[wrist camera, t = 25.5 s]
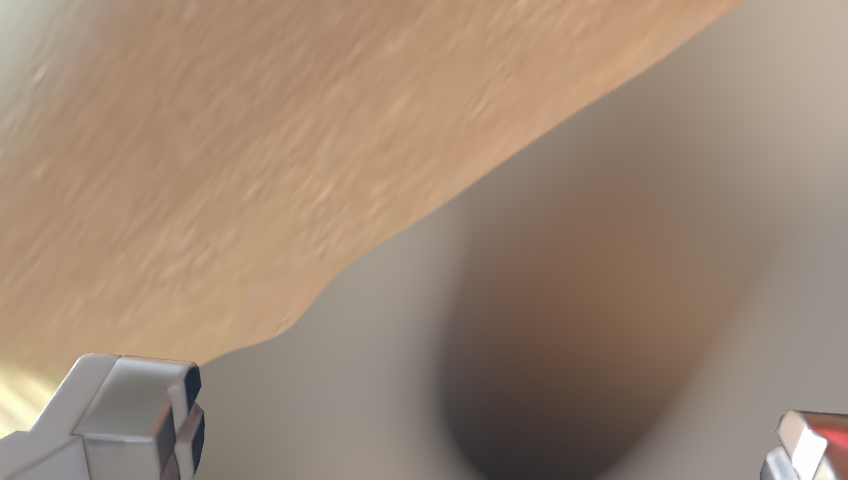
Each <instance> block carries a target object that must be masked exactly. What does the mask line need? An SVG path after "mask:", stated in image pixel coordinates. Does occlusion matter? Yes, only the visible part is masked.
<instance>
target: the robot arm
mask: <svg viewBox="0 0 848 480" xmlns="http://www.w3.org/2000/svg"><path fill="white" fill-rule="evenodd" d="M200 388H201V380H200V372H199V367H198V366H197V364H196V363H195V362H186V361H177V360H167V359H157V358H147V357H137V356H128V355H125V356H121V355H113V354H102V353H92V352H89V353H87V354H85V355H83V356H81V357H80V358H79V359H78V360H77V362H76V363H75V365H74V366H73V368H72V369H71V370H70V372H69V373H68V375H67V376H66V378H65V379H64V380H63V382H62V383H61V385H60V386H59V388H58V389H57V390H56V392H55V393H54V395H53V396H52V398H51V399H50V400H49V402H48V403H47V405H46V406H45V408H44V409H43V410H42V412H41V413H40V415H39V416H38V418H37V419H36V420H35V422H34V423H33V425H32V426H31V428H30V429H29V430H28V432H25V431H16V432H14V433H12V434H10V435H8V436H6V437H4V438H2V439H1V440H0V480H192V479H193V478H194V475H195V473H196V470H197V467H198V465H199V462H200V457H201V452H202V447H203V443H204V427H205V423H204V411H203V410H202V409H201V408H200V406H199V405H198V404H197V403H196V402H195V399H196V397H197V395H198V392H199V390H200ZM775 432H776V434H777V436H778V438H779V440H780V442H781V445H780V446H779V447H777V448H776V449H774V450H773V451H772V452H770V453H769V454H768V455H766V457H765V460H764V463H763V466H762V469H761V472H760V480H848V414H840V413H827V412H813V411H799V410H787V412H786V413H785V414H784V415H783V416H782V417H781V419H780V421H779V423H778V426H777V428H776V431H775Z"/></svg>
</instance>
